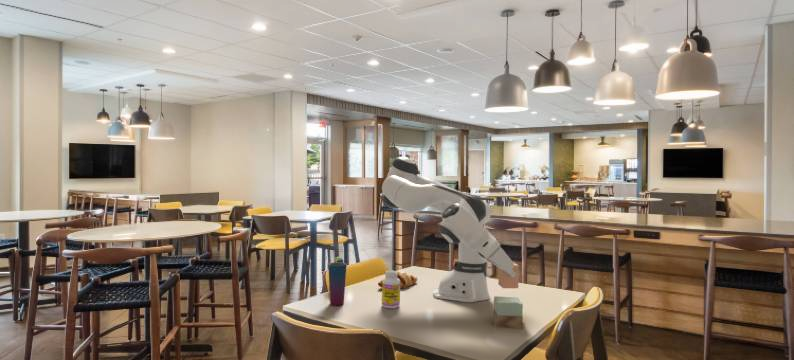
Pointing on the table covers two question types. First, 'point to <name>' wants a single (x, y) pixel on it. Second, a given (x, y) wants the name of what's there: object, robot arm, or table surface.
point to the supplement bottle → (391, 290)
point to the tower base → (508, 321)
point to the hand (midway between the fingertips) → (510, 273)
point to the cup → (337, 282)
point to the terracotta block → (509, 278)
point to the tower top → (508, 306)
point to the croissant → (404, 280)
